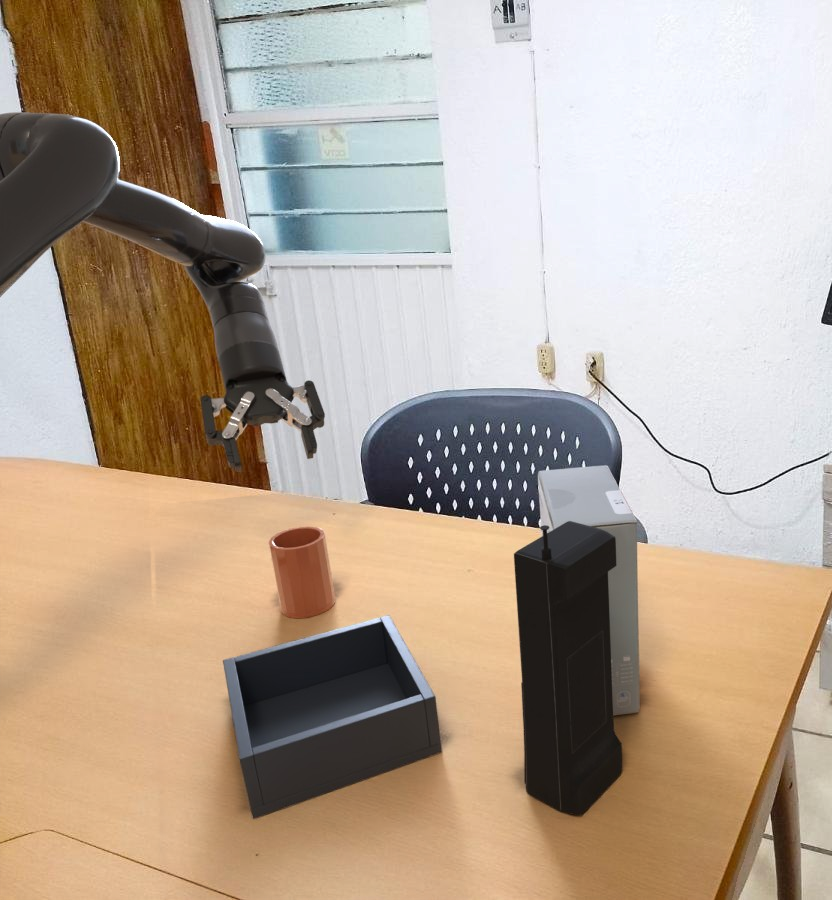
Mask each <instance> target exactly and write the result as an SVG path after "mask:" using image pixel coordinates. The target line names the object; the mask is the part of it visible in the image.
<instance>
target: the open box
mask: <svg viewBox="0 0 832 900" xmlns="http://www.w3.org/2000/svg"><path fill="white" fill-rule="evenodd" d="M222 665H223V671H224V676H225V682H226V688H227V692H228V700H229V705H230V711H231V712H230V713H231V717H232V723H233V728H234V730H233V731H234V736H235V742H236V747H237V753H238V759H239V764H240V767H241V772H242V776H243V781H244V782H243V783H244V786H245V789H246V791H245V792H246V795H247V799H248V803H249V804H248V805H249V808H250V813H251V817H252V819H253V820H255V819H258V818H260V817H264V816H266V815H269V814H272V813H275V812H278V811H281V810H283V809H286V808H288V807H291V806H294V805H297V804H300V803H303V802H306V801H308V800H311V799H315V798H317V797H320V796H323V795H325V794H328V793H331V792H334V791H337V790H340V789H342V788H345V787H347V786H351V785H354V784H356V783H359V782H362V781H364V780H368V779H370V778H373V777H376V776H380V775H382V774H385V773H387V772H391V771H393V770H396V769H400V768H402V767H405V766H407V765H410V764H413V763H416V762H418V761H421V760H424V759H426V758H430V757H432V756H436V755H439V754H441V753H442V752H443V748H442V740H441V733H440V725H439V724H440V723H439V716H438V715H439V714H438V705H437V699H436V695H435V694H434V691H433V689H432V688H431V686H430V684H429V683H428V681H427V679H426V678H425V676H424V674H423V672H422V670H421V668H420V666H419V665H418V663H417V661H416V659H415V657H414V655H413V654H412V652H411V651H410V649H409V647H408V646H407V644H406V642H405V641H404V638H403V637H402V634H401V633H400V631H399V630H398V628H397V625H396V624H395V623H394V621H393V618H392V617H391V616H390V615H389V614H387V615H384V616H380V617H376V618H372V619H369V620H366V621H361V622H358V623H354V624H351V625H347V626H343V627H340V628H336V629H332V630H329V631H324V632H321V633H318V634H314V635H311V636H306V637H303V638H300V639H296V640H292V641H289V642H288V641H287V642H285V643H281V644H278V645H273V646H271V647H267V648H262V649H259V650H255V651H252V652H248V653H245V654H241V655H238V656H234V657H230V658H225V659H223V660H222Z"/></svg>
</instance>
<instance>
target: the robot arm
mask: <svg viewBox="0 0 832 900" xmlns="http://www.w3.org/2000/svg"><path fill="white" fill-rule="evenodd" d="M120 169H121V168H120V156H119V151H118V147H117V145H116V142H115V141H114V140H113V138H112V137H111V135H110V134H109V133H108V132H107V131H106V130H105V129H104V128H103V127H101V126H100V125H98V124H97V123H95V122H94V121H91V120H89V119H86V118H84V117H81V116H80V117H79V116H76V115H71V114H66V113H47V112H46V113H45V112H25V111H24V112H22V111H20V112H19V111H17V112H15V111H14V112H4V113H3V112H2V113H0V298H1V297H2V296H3V295H4V294H5V293H6V292H7V291H8V290H9V289H10V288H11V287H12V286H13V285H14V284H15V283H16V282H17V281H18V280H20V278H21V277H22V276H23V275H24V274H25V273H26V272H27V271H28V270H29V269H30V268H32V266H33V265H34V264H35V263H36V262H37V261H38V260H39V259H40V258H41V257H42V256H43V255H44V254H45V253H46V252H47V251H49V249H50V248H52V247H53V246H54V245H55V244H57V242H58V241H60V240H61V239H62V238H64V237H65V236H66V235H67V234H69V233H70V232H71V231H73V230H74V229H75V228H77V227H78V226H79V225H80V224H81V223H85V224H88V225H91V226H93V227H96V228H98V229H101V230H104V231H106V232H108V233H111V234H114V235H116V236H118V237H121V238H123V239H125V240H128V241H130V242H131V243H134V244H136V245H137V246H140V247H143V248H144V249H147V250H149V251H150V252H152V253H154V254H157V255H159V256H161V257H163V258H165V259H167V260H169V261H172V262H173V263H176V264H178V265H181V266H184V267H183V268H184V270H185V271H186V273H187V275H188V277H189V278H190V280H191V281H192V283H193V284H194V285H195V287H196V288H197V291H198V292H199V294H200V296H201V297H202V299H203V301H204V303H205V305H206V308H207V309H208V311H209V316H210V321H211V325H212V329H213V334H214V347H215V351H216V359H217V361H218V364H219V369H220V373H221V377H222V381H223V387H224V390H225V391H224V392H225V394H224V396H223V397H215V398H212V397H211V396H210V395H209V394H204V395H202V396H201V397H200V406H201V413H202V420H203V421H202V422H203V426H204V435H205V440H206V444H207V445H208V446H210V447H211V446H216V445H219V446H221V447H223V449H224V453H225V457H226V461H227V466H228V467H229V468H230V469H234V470H235V472H236V473H238V472H243V468H242V467H243V465H242V461H241V457H240V453H239V448H238V444H237V440H238V439H239V436H240V435H242V434H243V432H244V431H245V429H246V428H247V426H248V425H249V426H252V427H259V426H262V425H265V424H270V425H271V424H277V423H279V421H280V420H281V421H283V422H284V423H286V424H287V425H289V426H290V427H294V428H295V429H297V430H298V431H300V437H301V441H302V444H303V449H304V453H305V456H306V459H307V460H311V459H314V454H317V451H318V443H317V439H316V435H315V431H314V430H315V429H318V428H319V429H321V428H323V427H324V426H325V419H326V418H325V417H326V414H325V410H324V408H323V405H322V402H321V400H320V396H319V394H318V391H317V389H316V386H315V382H314V381H312V380H306V381H304V384H303V385H298V386H291V384H290V383H289V382H288V380H287V377H286V372H285V368H284V364H283V361H282V358H281V357H282V356H281V354H280V350H279V346H278V343H277V339H276V335H275V332H274V331H273V328H272V326H271V323H270V320H269V316H268V311H267V308H266V305H265V301H264V297H263V295H262V293H261V291H260V290H259V289H258V288H257V287H256V285H253V284H252V283H249V282H246V281H245V282H244V281H243V280H245V279H247V278H250V277H252V276H254V275H255V274H257V273H259V271H261V270H262V269H263V267H264V265H265V264H266V260H267V259H266V258H267V255H266V248H265V247H264V244H263V242H262V241H261V239H260V238H259V237H258V235H257V234H256V233H255V232H254V231H252V230H251V229H249V228H248V227H247V226H245V225H244V224H241V223H239V222H237V221H234V220H230V219H225V218H222V217H221V218H220V217H217V216H212V215H205V214H200V213H199V212H197V211H196V210H194V209H192V208H190V207H189V206H187V205H185V204H184V203H183V202H180V201H179V200H177V199H175V198H173V197H171V196H169V195H166V194H163V193H161V192H158V191H157V190H153V189H150V188H147V187H145V186H141V185H139V184H135V183H131V182H128V181H126V180H122V179H119V176H120ZM295 397H296V398H299V399H300V401H301V402H303V403H307V406H308V409H309V412H310V415H311V416H308V415H306V414H305V413H304V412H302V411H301V410H300V409H299V407H298V406H297V405H295V404H294V403H292V402H293V401H294V399H295ZM224 408H225V410H227V411H228V412H230V414H231V415H230V418H229V421H228V423H227V424H226V426H225V427H224V429H223V430H218V429H216V422H215V417H218V416H219V415H220V414H221V410H222V409H224Z"/></svg>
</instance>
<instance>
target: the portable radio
mask: <svg viewBox="0 0 832 900" xmlns="http://www.w3.org/2000/svg"><path fill="white" fill-rule="evenodd" d="M539 529H540V531H541V530H543V536H542V535H541V536H540V537H538V538H537V539H534V541H532V542H530V543H528V544H526V545H525V546H523V547H521V548H520V549H518V550H516V551H515V552H514V553H513V565H514V579H515V581H514V582H515V595H516V610H517V623H518V624H517V625H518V627H517V628H518V640H519V642H518V643H519V656H520V668H521V669H520V671H521V684H520V685H521V687H520V688H521V705H522V706H521V707H522V709H521V710H522V723H523V724H522V727H523V753H524V754H523V760H524V761H523V762H524V763H523V768H524V769H523V772H524V773H523V776H524V777H523V779H524V784H525V792H526V794H527V795H528V796H530V797H531V798H533V799H536V800H538V801H540V802H541V803H543V804H546V805H547V806H549V807H551V808H553V809H555V810H557V811H559V812H562V813H565V814H568V815H575V816H583V815H584V814H585V813H586V812H587V811H588V810H589V809H590V808H591V807H592V806H593V804H595V803H596V802H597V801H598V799H600V797H601V796H602V795H604V793H605V792H606V791H607V790H608V789H609V788H610V787H611V786H612V784H613V783H615V781H616V780H618V778H619V777H621V775H622V773H623V744H622V742H621V740H620V738H619V737H618V735H617V733H616V731H615V724H614V716H613V698H612V670H611V642H610V615H609V587H608V571H610V570H611V569H613V568H614V567H615V566H617V565H616V539H615V537H614V536H613V535H611V534H610V533H608V532H606V531H604V530H602V529H599V528H595V527H591V526H588V525H584V524H580V523H576V522H573V521H568V522H566V523H564V524H562V525H561V526H559V527H557V528H556V529H554V530H552V531H550V532H549V533H547V530H548V529H549V526H547V525H544V526H541V525H540V526H539Z"/></svg>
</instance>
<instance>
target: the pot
mask: <svg viewBox="0 0 832 900" xmlns="http://www.w3.org/2000/svg"><path fill="white" fill-rule="evenodd" d="M268 548H269V553H270V557H271V563H272V568H273V574H274V579H275V585H276V590H277V595H278V602H279V606H280V610H281V613H282V614H283V616H285V617H288V618H290V619H291V618H292V619H307V618H311V617H316V616H318V615H321V614H323V613H325V612H327V611H328V610H330V609H331V608H332V607H333V606H334V605H335V603H336V595H335V588H334V582H333V576H332V575H333V574H332V570H331V569H332V568H331V562H330V557H329V550H328V544H327V538H326V533H325V530H323V529H322V528H320V527H317V526H316V527H315V526H298V527H293V528H288V529H285V530H282V531H280V532H278V533H276V534H274V535H273V536H271V538H270V539H269V541H268Z"/></svg>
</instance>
